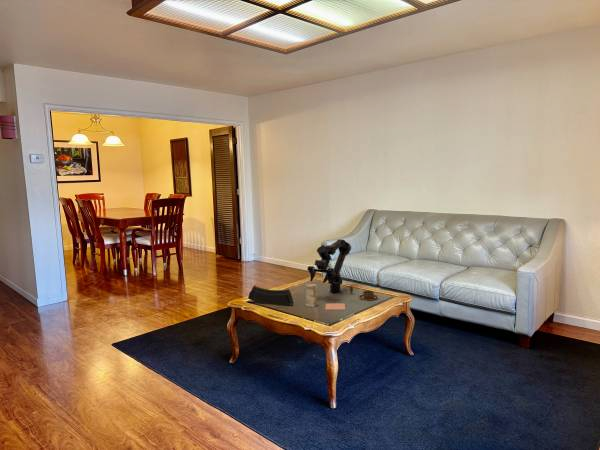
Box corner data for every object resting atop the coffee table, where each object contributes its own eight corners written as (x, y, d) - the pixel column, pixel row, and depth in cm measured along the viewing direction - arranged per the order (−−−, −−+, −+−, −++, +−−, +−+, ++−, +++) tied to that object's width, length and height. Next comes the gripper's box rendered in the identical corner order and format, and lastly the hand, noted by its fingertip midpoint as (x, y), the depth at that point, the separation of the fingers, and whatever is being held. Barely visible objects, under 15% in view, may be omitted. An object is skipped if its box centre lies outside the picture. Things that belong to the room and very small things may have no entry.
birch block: (310, 303, 263) (309, 283, 261) (317, 304, 260) (316, 284, 259) (306, 305, 258) (305, 285, 257) (313, 306, 256) (312, 286, 254)
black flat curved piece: (297, 291, 259) (255, 275, 268) (295, 292, 256) (253, 276, 265) (290, 315, 263) (249, 299, 271) (288, 317, 260) (247, 300, 268)
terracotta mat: (325, 304, 261) (325, 303, 261) (344, 304, 260) (344, 303, 260) (325, 309, 249) (325, 309, 249) (345, 310, 248) (345, 309, 248)
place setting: (359, 302, 264) (359, 294, 263) (347, 294, 283) (347, 286, 283) (384, 300, 269) (384, 291, 268) (371, 292, 288) (371, 284, 287)
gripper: (308, 254, 272) (300, 273, 264) (333, 256, 262) (325, 276, 254) (314, 263, 280) (306, 283, 271) (339, 266, 270) (331, 286, 262)
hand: (317, 282), depth 264 cm, fingers open, 9 cm apart
